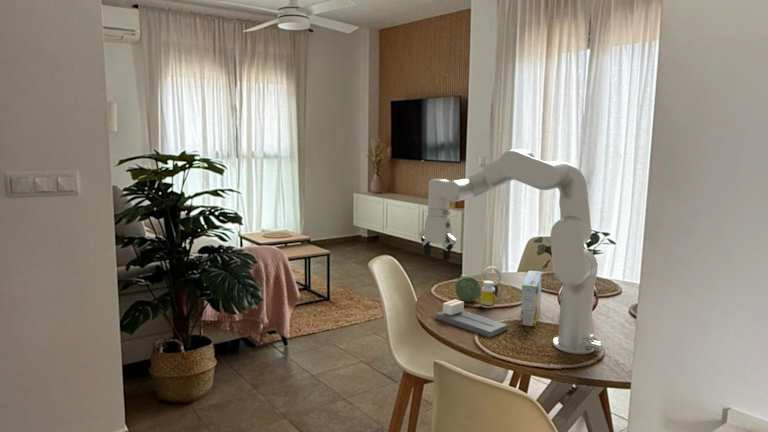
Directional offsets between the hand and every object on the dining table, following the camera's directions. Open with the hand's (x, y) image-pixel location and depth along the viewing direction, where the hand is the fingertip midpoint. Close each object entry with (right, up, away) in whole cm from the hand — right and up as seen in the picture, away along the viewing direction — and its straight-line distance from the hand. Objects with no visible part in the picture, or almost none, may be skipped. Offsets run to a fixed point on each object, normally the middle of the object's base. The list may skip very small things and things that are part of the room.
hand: (436, 258), depth 193 cm
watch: (+27, -17, +29) cm, 43 cm away
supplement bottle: (+21, -20, +11) cm, 31 cm away
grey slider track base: (+11, -23, -9) cm, 27 cm away
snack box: (+35, -22, -1) cm, 41 cm away
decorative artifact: (+14, -19, +15) cm, 28 cm away
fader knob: (+6, -19, -4) cm, 20 cm away
